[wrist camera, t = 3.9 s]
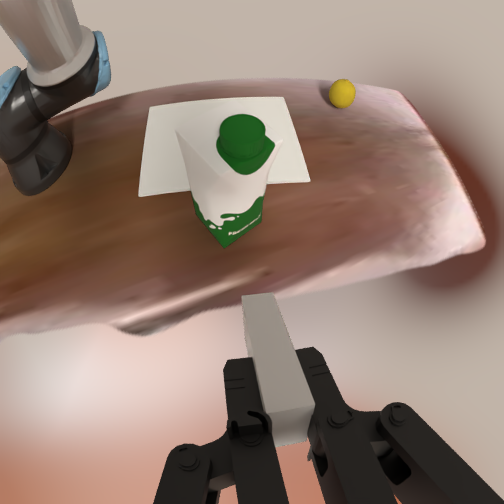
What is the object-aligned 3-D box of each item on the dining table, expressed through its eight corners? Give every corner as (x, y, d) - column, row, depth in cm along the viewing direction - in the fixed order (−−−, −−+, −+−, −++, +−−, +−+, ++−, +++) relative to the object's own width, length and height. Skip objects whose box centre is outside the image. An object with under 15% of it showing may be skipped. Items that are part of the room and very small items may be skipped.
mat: (150, 108, 49) (150, 106, 49) (283, 98, 53) (283, 97, 52) (139, 197, 42) (138, 195, 41) (309, 181, 45) (310, 180, 44)
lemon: (348, 118, 52) (360, 91, 45) (324, 110, 52) (333, 81, 45) (349, 104, 54) (359, 78, 47) (326, 96, 54) (335, 70, 47)
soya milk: (222, 257, 39) (216, 168, 20) (187, 212, 41) (161, 112, 23) (270, 223, 42) (297, 124, 23) (232, 183, 44) (236, 79, 25)
